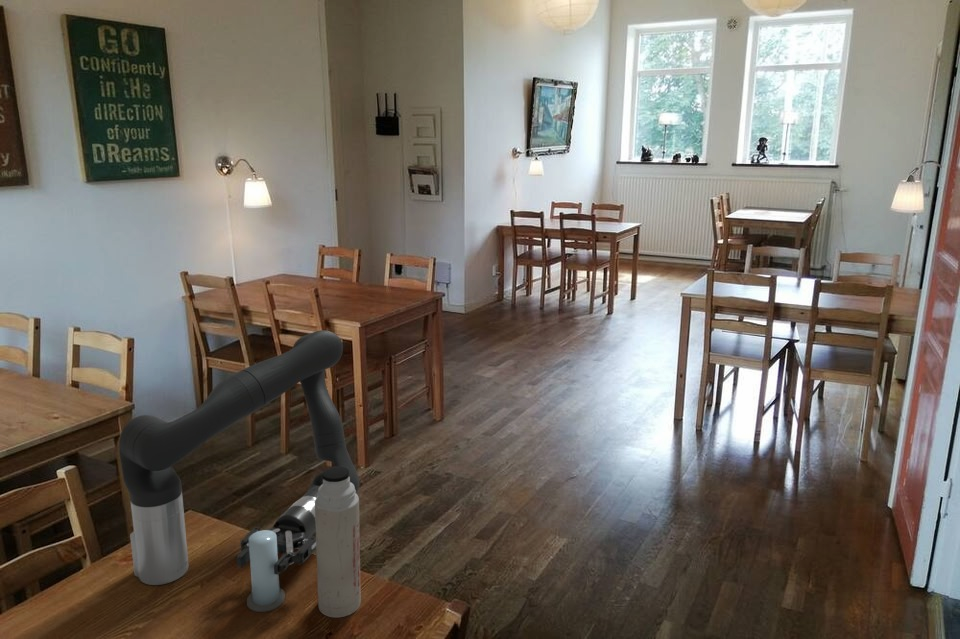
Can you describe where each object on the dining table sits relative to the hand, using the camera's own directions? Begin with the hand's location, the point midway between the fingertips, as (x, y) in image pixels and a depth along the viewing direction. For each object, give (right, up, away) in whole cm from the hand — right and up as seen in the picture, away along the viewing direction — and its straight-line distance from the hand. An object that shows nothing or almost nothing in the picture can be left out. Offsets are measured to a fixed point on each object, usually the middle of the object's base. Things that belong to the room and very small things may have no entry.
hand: (257, 566), depth 126 cm
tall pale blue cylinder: (0, -7, +4) cm, 9 cm away
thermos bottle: (+15, -9, +4) cm, 17 cm away
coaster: (0, -8, +4) cm, 9 cm away
